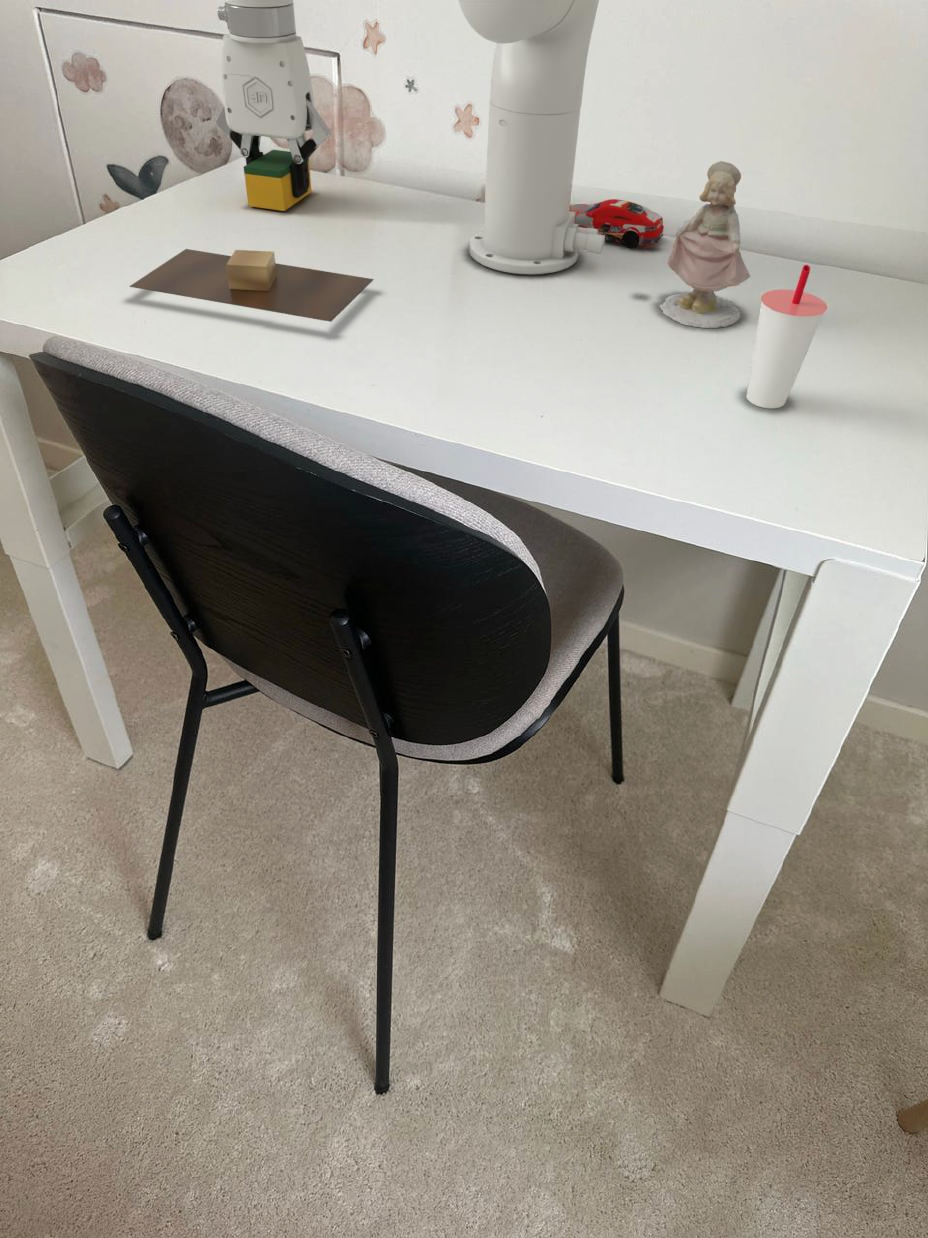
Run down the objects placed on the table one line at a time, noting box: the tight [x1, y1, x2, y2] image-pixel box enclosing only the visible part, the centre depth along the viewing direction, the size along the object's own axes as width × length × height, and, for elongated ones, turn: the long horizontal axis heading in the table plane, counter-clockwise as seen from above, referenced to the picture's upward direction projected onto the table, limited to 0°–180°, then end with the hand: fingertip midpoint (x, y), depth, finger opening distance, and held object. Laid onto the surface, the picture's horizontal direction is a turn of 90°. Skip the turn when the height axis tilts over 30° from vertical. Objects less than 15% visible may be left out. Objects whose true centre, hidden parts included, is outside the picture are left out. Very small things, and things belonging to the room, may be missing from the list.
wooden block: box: [226, 249, 277, 291], centre depth 90 cm, size 4×4×2 cm
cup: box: [746, 264, 828, 409], centre depth 76 cm, size 5×5×12 cm
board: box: [129, 248, 374, 322], centre depth 92 cm, size 22×11×2 cm, turn 73°
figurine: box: [638, 160, 751, 329], centre depth 90 cm, size 11×10×15 cm
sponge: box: [243, 149, 313, 212], centre depth 112 cm, size 5×8×5 cm, turn 163°
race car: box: [569, 198, 665, 249], centre depth 107 cm, size 13×5×4 cm, turn 65°
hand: (279, 190), depth 113 cm, fingers closed on sponge, 5 cm apart
